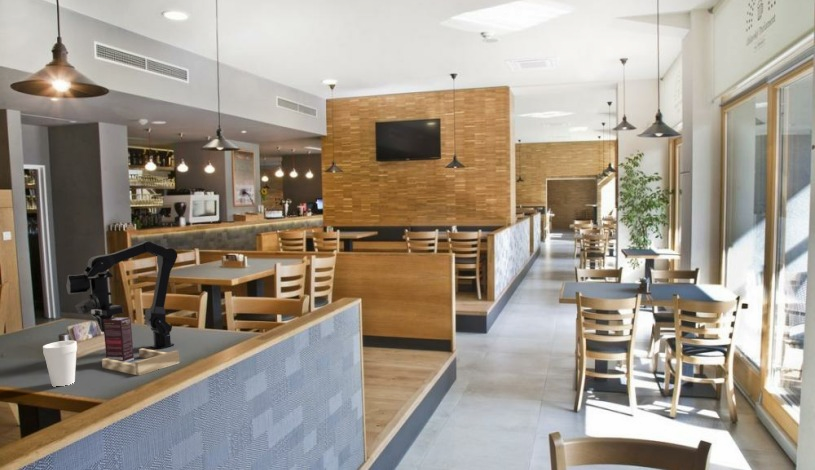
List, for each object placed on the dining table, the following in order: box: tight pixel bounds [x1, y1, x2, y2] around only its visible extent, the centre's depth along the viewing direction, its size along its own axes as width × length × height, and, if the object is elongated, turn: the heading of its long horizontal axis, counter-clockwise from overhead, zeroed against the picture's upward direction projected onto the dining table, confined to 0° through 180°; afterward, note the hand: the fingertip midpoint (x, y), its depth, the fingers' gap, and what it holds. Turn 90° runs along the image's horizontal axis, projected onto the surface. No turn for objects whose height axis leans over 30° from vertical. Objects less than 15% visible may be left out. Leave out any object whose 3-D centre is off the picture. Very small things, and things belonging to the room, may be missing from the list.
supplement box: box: [103, 316, 135, 363], centre depth 209 cm, size 9×5×16 cm, turn 71°
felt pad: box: [128, 358, 145, 364], centre depth 202 cm, size 14×10×1 cm
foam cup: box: [42, 340, 78, 388], centre depth 184 cm, size 10×9×13 cm
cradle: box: [101, 347, 180, 376], centre depth 202 cm, size 22×16×4 cm
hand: (103, 331), depth 214 cm, fingers closed
